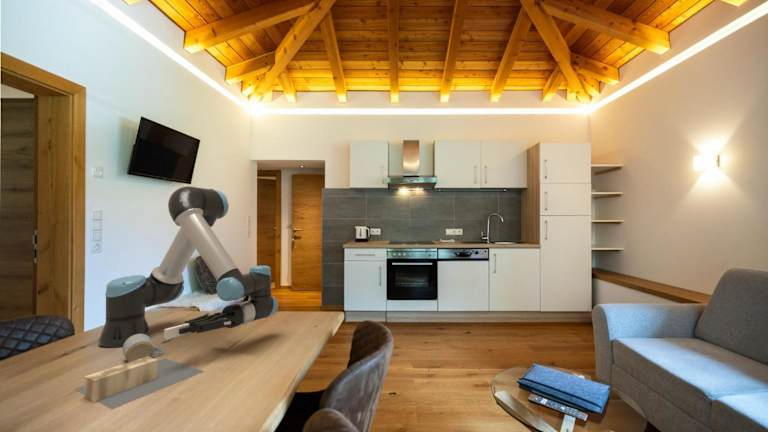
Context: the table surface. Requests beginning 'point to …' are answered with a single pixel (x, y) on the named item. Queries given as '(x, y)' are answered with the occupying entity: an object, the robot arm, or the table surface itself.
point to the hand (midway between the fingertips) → (165, 334)
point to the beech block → (120, 378)
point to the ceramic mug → (140, 348)
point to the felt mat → (150, 383)
